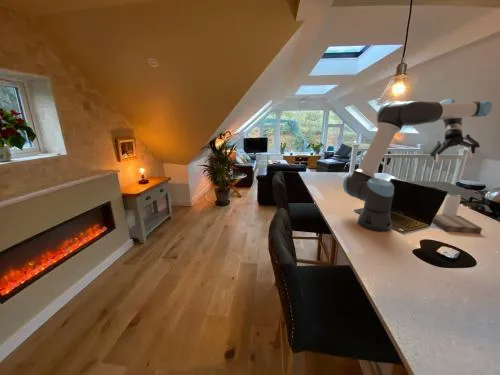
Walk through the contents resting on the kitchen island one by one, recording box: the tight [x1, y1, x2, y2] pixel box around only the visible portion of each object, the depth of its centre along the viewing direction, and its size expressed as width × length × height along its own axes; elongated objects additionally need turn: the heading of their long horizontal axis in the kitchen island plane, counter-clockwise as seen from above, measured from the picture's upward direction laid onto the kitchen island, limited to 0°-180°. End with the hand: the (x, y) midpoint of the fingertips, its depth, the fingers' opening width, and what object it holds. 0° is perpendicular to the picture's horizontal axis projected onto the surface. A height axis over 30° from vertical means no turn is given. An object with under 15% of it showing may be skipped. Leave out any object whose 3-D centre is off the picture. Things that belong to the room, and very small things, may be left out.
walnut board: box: [432, 213, 483, 235], centre depth 116 cm, size 15×15×3 cm
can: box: [441, 192, 462, 215], centre depth 129 cm, size 6×6×12 cm
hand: (453, 160), depth 120 cm, fingers open, 13 cm apart
